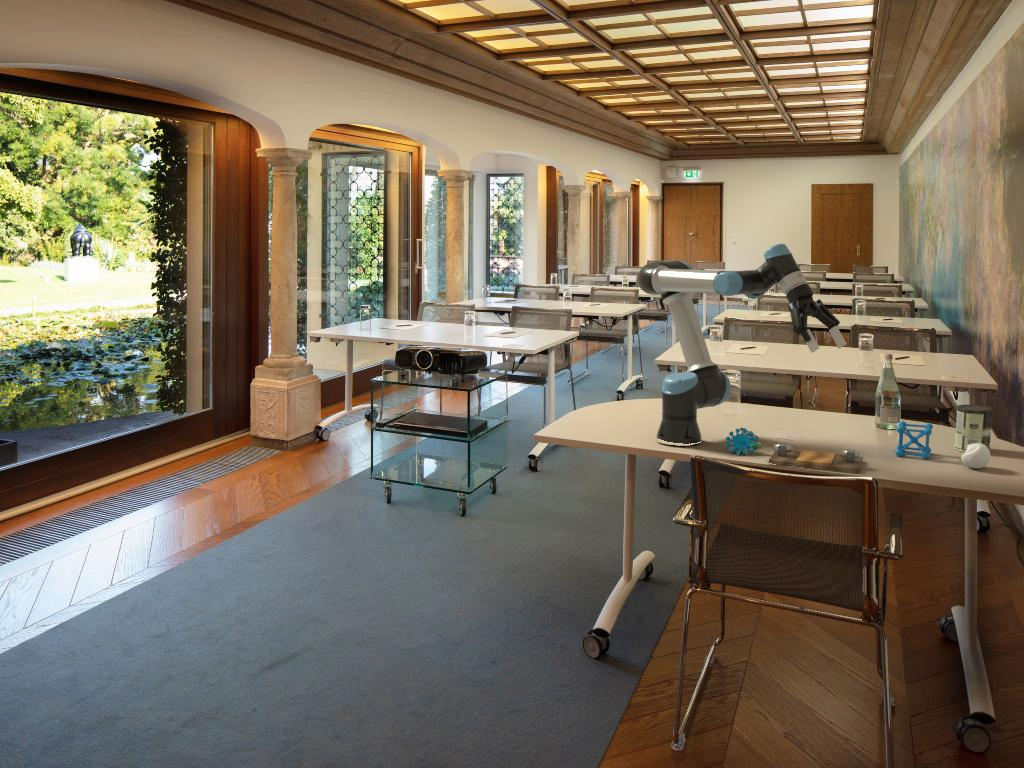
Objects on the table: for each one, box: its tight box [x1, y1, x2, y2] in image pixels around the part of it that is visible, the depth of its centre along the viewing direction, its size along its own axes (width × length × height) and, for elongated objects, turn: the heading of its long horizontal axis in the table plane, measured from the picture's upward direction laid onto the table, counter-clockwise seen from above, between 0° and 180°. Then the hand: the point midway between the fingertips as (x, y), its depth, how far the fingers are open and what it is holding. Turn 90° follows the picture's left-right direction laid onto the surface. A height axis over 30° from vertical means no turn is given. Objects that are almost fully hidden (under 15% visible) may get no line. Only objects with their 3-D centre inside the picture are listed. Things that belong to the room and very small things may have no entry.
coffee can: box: [954, 404, 994, 453], centre depth 278 cm, size 10×10×14 cm
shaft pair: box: [773, 443, 861, 464], centre depth 265 cm, size 25×4×3 cm, turn 64°
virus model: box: [725, 427, 762, 455], centre depth 280 cm, size 11×6×10 cm
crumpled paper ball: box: [960, 443, 991, 470], centre depth 257 cm, size 8×8×8 cm
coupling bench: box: [768, 449, 864, 474], centre depth 266 cm, size 26×15×2 cm, turn 64°
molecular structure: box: [894, 420, 934, 460], centre depth 273 cm, size 10×10×10 cm
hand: (829, 348), depth 258 cm, fingers open, 13 cm apart
